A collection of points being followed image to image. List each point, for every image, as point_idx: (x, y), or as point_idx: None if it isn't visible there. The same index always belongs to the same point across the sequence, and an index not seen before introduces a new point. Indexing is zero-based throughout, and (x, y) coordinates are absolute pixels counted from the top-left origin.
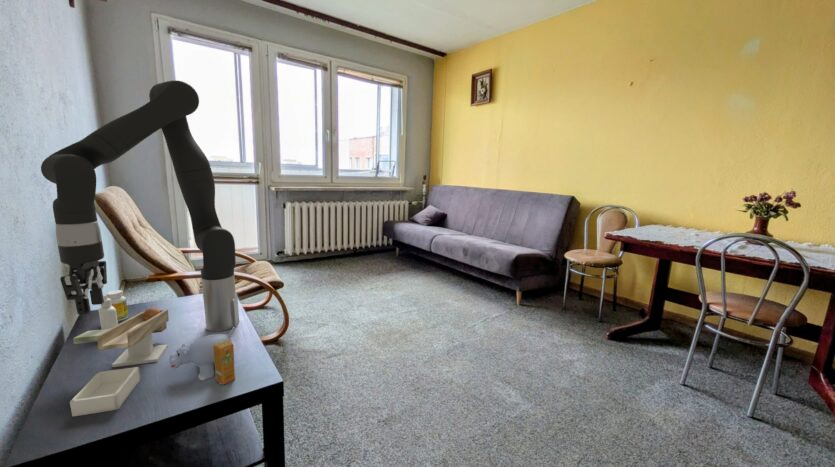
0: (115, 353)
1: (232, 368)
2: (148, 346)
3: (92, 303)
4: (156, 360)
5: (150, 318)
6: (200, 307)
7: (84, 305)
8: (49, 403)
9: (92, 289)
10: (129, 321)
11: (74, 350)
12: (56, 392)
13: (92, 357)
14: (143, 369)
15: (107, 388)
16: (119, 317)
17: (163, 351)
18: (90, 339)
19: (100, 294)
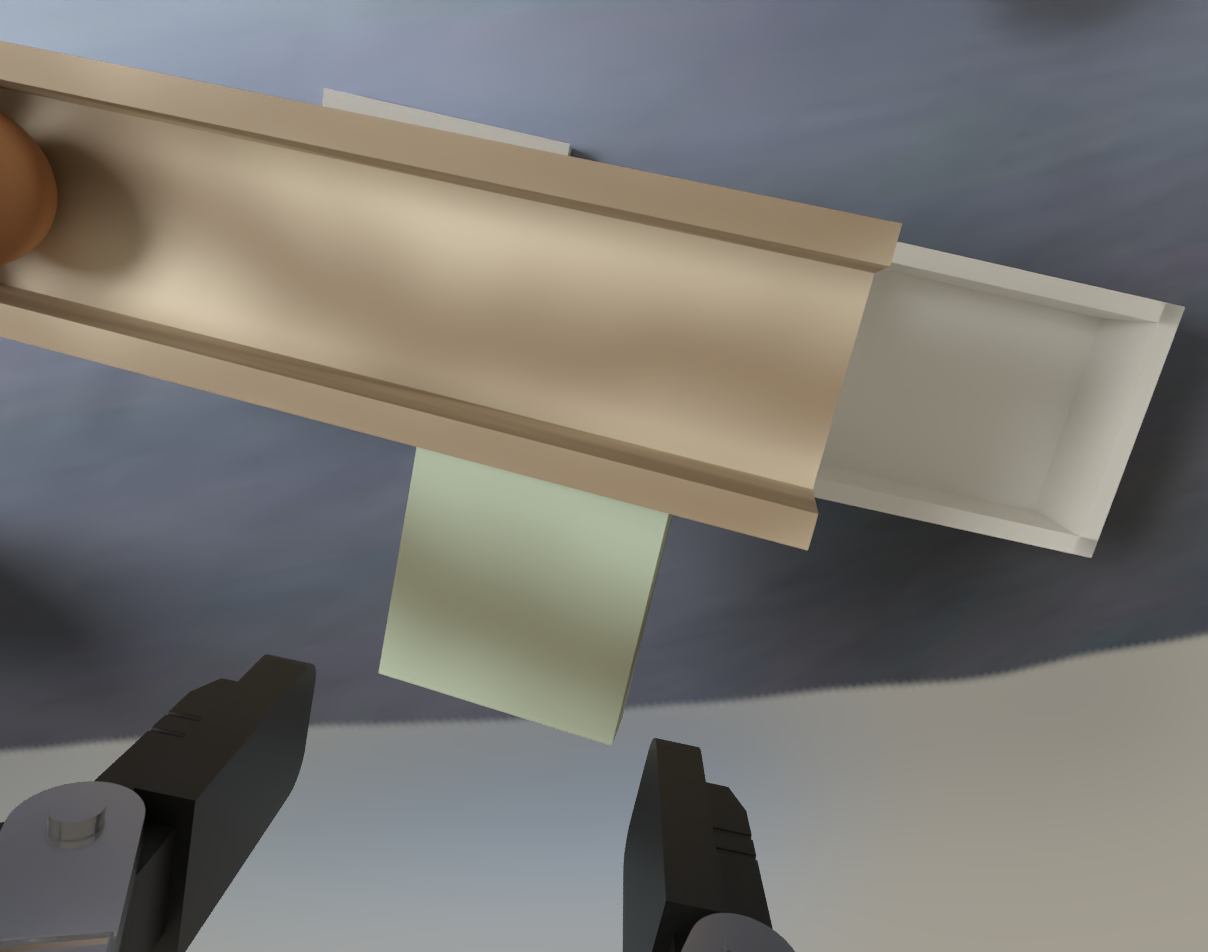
0: (291, 459)
1: None
2: None
3: (293, 782)
4: (569, 153)
5: (52, 193)
6: None
7: (741, 864)
8: (811, 667)
9: (148, 943)
10: (228, 357)
11: (134, 711)
12: (697, 667)
13: (295, 587)
14: None
15: (840, 409)
16: None
17: (438, 114)
18: (647, 608)
19: (237, 754)
